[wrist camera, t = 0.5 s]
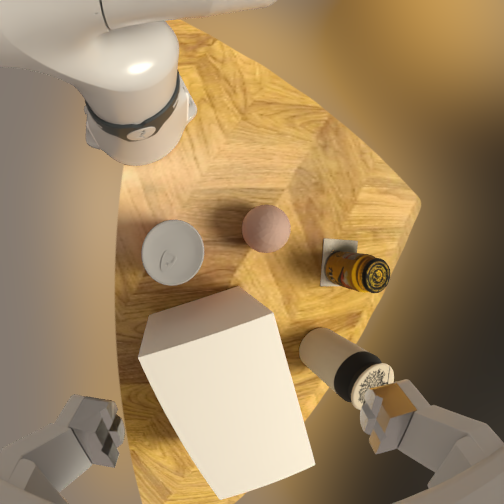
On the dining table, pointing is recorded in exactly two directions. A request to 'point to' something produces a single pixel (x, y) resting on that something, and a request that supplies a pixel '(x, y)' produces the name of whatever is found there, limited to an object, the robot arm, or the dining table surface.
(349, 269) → the condiment
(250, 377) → the white step stool
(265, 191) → the dining table surface
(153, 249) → the canned food
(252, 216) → the egg
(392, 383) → the robot arm
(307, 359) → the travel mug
